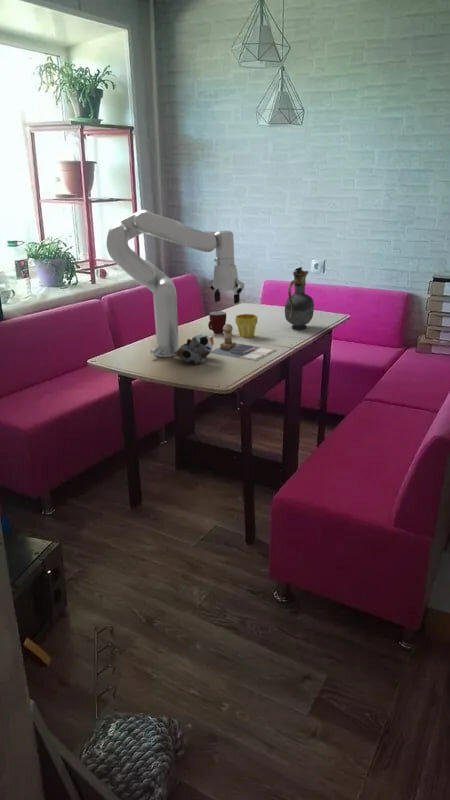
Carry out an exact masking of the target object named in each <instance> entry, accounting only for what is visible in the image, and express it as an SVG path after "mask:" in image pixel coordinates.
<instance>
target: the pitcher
mask: <svg viewBox="0 0 450 800" xmlns="http://www.w3.org/2000/svg"><path fill="white" fill-rule="evenodd" d="M292 275H293V276H294V277H293V280H291V281H290V283H289V285H288V290H287V291H288V295H287V296H288V297H287V299H286V301H285V305H284V317H285V320H286V321H287V323H289V324H291V329H292V330H295V331H297V330H298V331H299V330H300V331H301V329H302V330H305V329H307V327H308V326H307V325H308V324H309V323H310V322H311V320H312V319H313V316H314V312H315V311H314V310H315V303H314V299H313V298H312V297H311V296H310V295H309V294H306V292H305V291H306V284H307V283H306V280H307V279H306V278H307V275H309V271H308V270H303V267H302V266H300V267H297V268H295V269H294V270H293V272H292ZM293 285H294V293H292V287H293Z"/></svg>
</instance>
